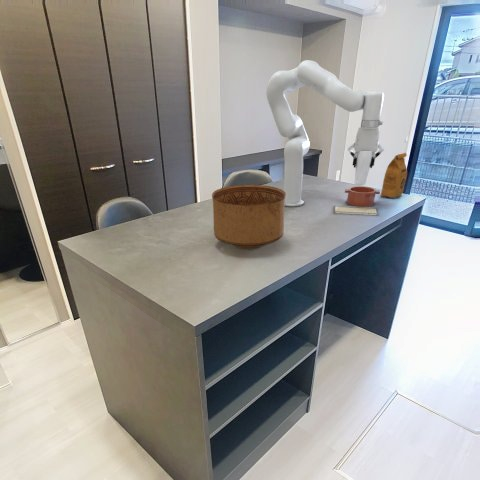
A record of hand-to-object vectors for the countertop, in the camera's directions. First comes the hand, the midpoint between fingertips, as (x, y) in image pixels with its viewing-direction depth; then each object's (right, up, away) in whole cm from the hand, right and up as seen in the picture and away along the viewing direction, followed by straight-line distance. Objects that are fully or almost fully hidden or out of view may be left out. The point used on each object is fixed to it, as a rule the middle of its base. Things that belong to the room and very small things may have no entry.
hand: (362, 167), depth 166 cm
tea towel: (0, -17, +12) cm, 21 cm away
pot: (-55, -42, -23) cm, 72 cm away
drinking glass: (0, -7, +4) cm, 8 cm away
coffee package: (+28, -2, +33) cm, 43 cm away
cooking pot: (+6, -10, +23) cm, 25 cm away
